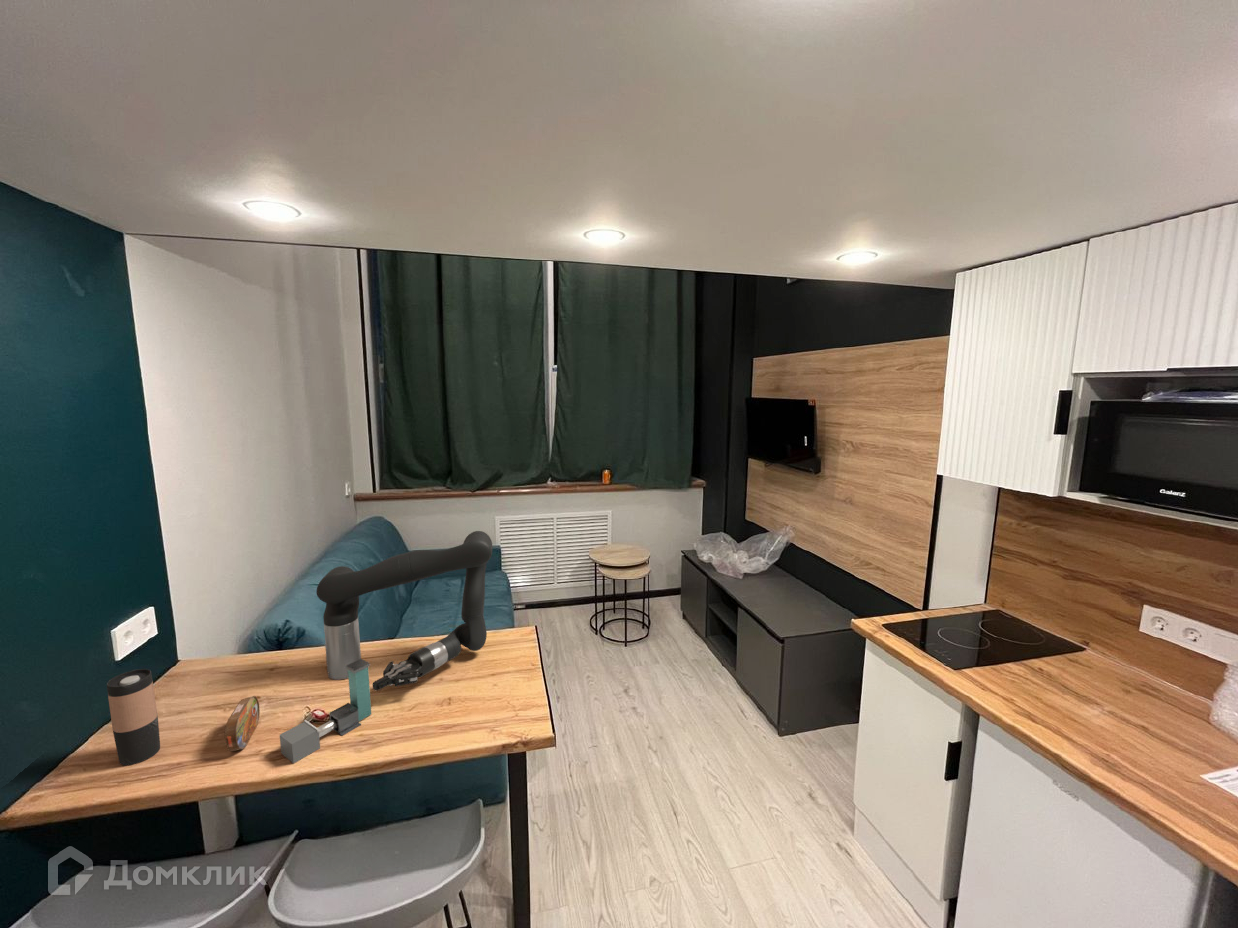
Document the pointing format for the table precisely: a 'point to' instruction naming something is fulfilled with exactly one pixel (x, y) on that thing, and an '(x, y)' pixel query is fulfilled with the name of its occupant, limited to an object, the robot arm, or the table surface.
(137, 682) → the travel mug
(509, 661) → the table surface
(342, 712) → the sleeve
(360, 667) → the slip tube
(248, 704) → the tin
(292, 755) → the socket
